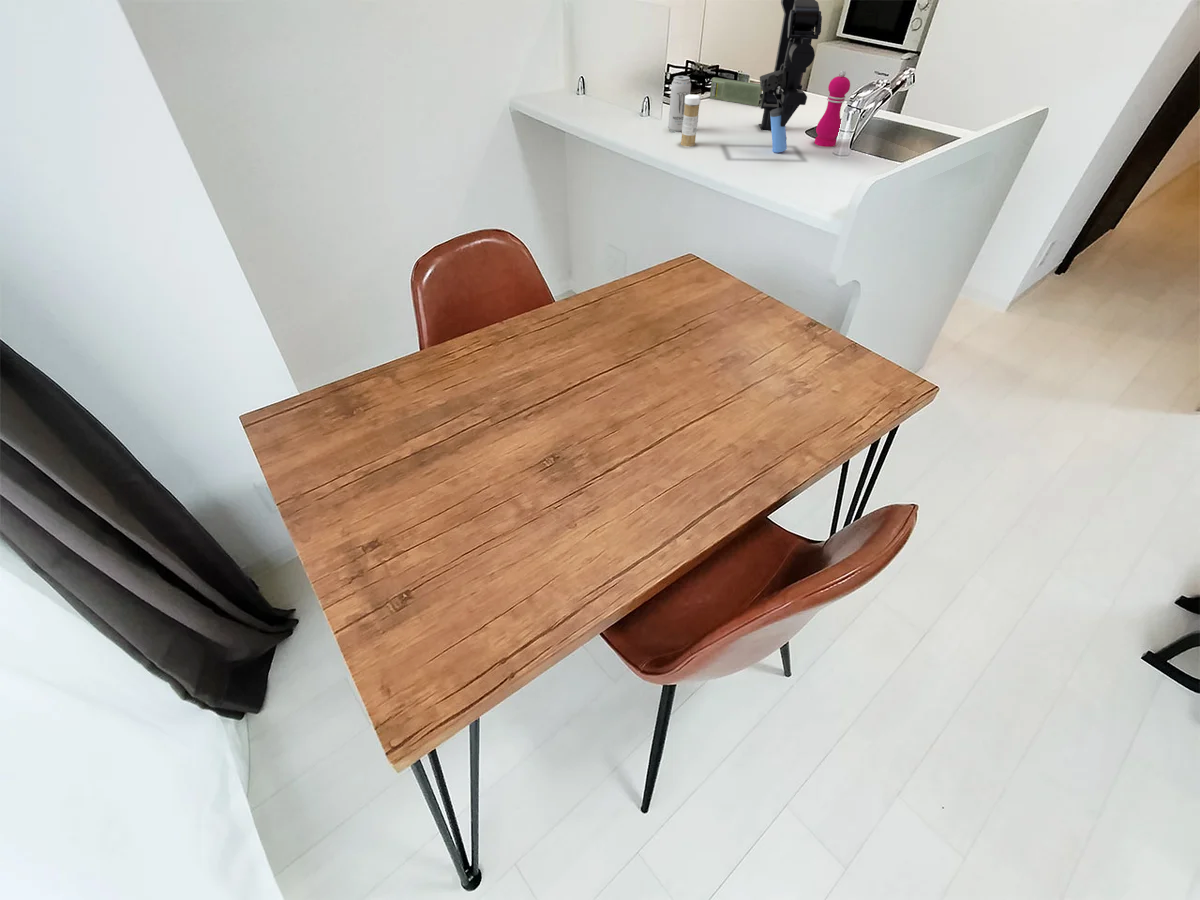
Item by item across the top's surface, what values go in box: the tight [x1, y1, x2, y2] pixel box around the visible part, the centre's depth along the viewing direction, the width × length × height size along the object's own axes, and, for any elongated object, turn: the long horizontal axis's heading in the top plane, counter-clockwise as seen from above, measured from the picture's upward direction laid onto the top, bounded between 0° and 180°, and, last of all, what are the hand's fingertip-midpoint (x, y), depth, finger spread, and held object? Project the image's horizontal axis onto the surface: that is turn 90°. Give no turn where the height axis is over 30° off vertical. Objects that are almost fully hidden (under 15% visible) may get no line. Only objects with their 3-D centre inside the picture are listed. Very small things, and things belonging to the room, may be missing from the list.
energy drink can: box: [667, 75, 692, 134], centre depth 190 cm, size 6×6×15 cm
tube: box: [770, 108, 788, 154], centre depth 176 cm, size 4×11×4 cm
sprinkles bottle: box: [680, 93, 702, 147], centre depth 180 cm, size 5×5×14 cm
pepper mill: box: [814, 69, 851, 148], centre depth 180 cm, size 7×7×20 cm
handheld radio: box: [709, 77, 766, 107], centre depth 219 cm, size 7×3×25 cm
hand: (780, 124), depth 175 cm, fingers closed on tube, 4 cm apart
